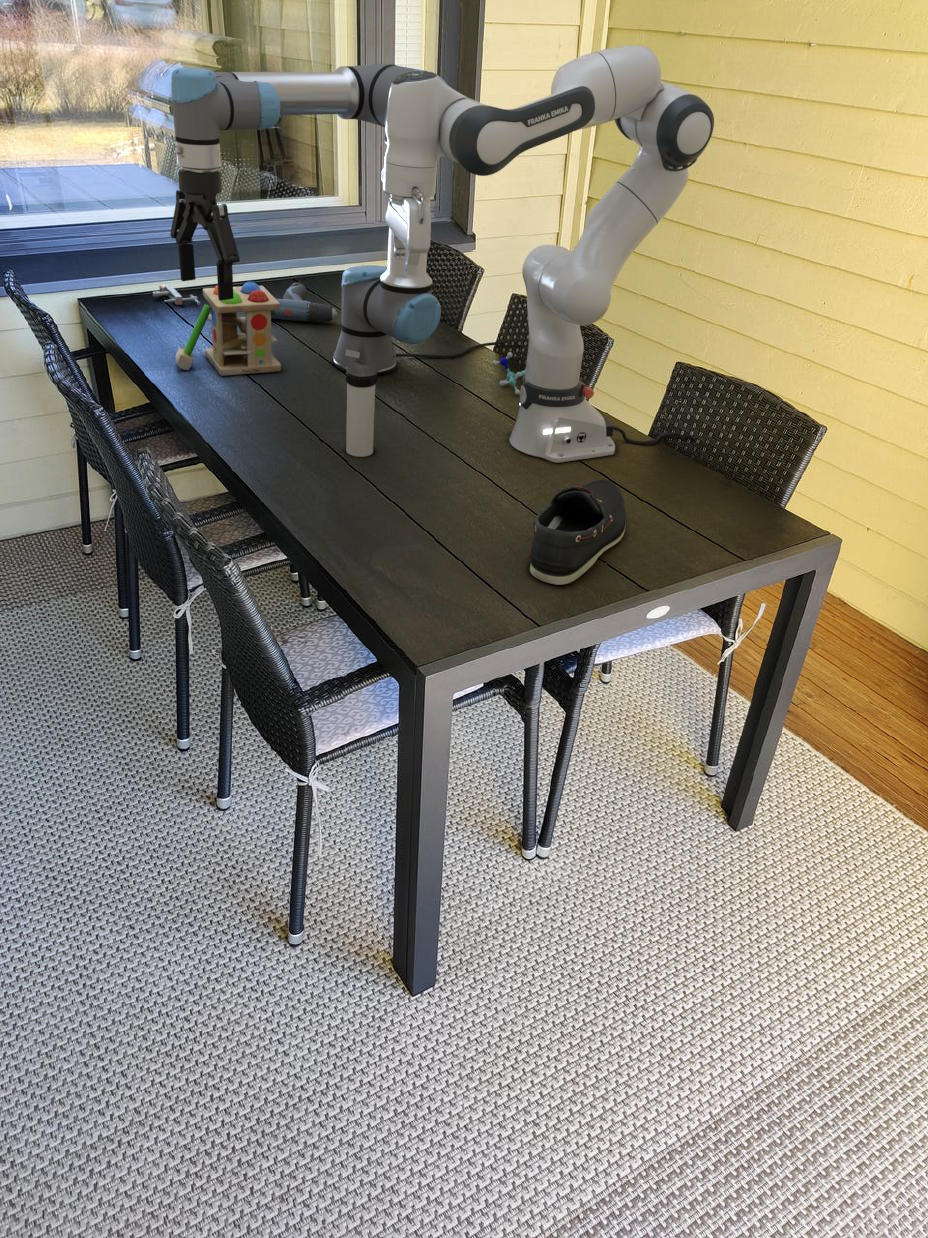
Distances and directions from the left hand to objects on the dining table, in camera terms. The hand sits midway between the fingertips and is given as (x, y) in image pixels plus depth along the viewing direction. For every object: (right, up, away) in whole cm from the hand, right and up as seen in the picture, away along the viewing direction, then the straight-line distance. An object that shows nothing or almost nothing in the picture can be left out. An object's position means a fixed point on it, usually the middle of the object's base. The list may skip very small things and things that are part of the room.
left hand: (206, 289), depth 186 cm
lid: (+29, -15, +3) cm, 33 cm away
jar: (+28, -28, +12) cm, 42 cm away
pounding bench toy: (-7, -3, +45) cm, 45 cm away
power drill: (+6, +21, +81) cm, 84 cm away
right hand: (+38, 0, -14) cm, 41 cm away
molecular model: (+60, -7, +48) cm, 77 cm away
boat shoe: (+69, -49, -12) cm, 85 cm away
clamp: (-30, +24, +81) cm, 89 cm away
